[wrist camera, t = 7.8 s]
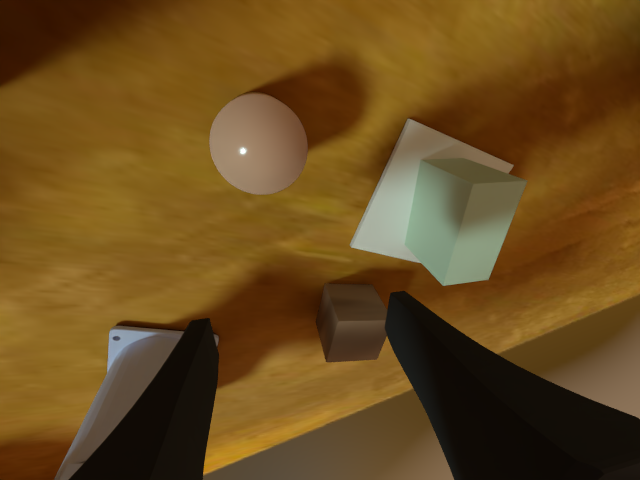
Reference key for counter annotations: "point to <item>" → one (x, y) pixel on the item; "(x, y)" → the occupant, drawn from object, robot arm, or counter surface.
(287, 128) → the pink cylinder
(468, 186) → the sage brick
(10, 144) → the counter surface
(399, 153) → the plate
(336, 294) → the walnut cube
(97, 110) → the counter surface
